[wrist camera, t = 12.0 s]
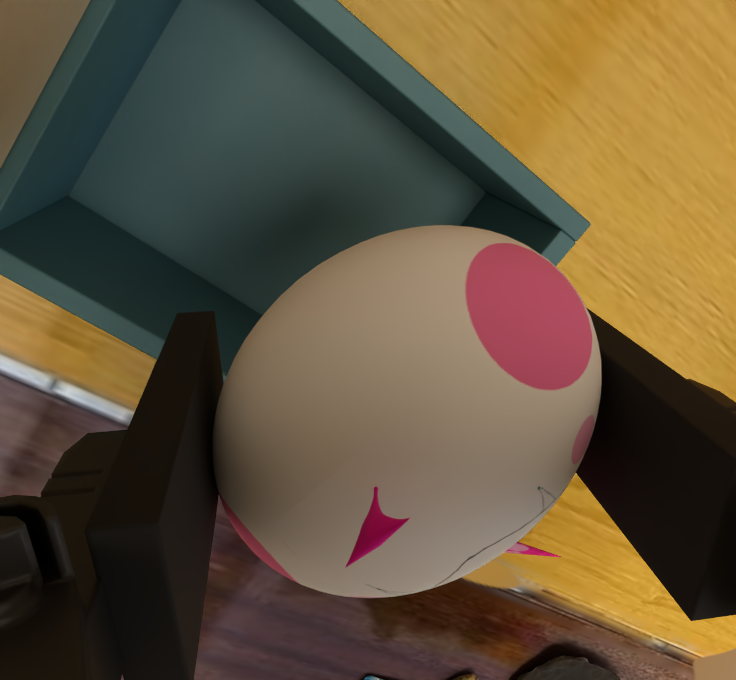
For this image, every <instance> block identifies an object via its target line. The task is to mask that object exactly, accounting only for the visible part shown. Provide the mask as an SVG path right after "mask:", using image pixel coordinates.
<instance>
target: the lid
mask: <svg viewBox="0 0 736 680" xmlns="http://www.w3.org/2000/svg"><path fill="white" fill-rule="evenodd" d="M89 2H90V0H0V168H1V166H2V164H3V162H4V161H5V159H6V157H7V155H8V153H9V151H10V149H11V147H12V146H13V144H14V142H15V140H16V138H17V136H18V134H19V133H20V131H21V129H22V127H23V125H24V123H25V121H26V120H27V118H28V116H29V114H30V112H31V110H32V108H33V107H34V105H35V103H36V101H37V99H38V97H39V95H40V93H41V92H42V90H43V88H44V86H45V84H46V82H47V80H48V79H49V77H50V75H51V73H52V71H53V69H54V67H55V66H56V64H57V62H58V60H59V58H60V56H61V54H62V52H63V51H64V49H65V47H66V45H67V43H68V41H69V39H70V38H71V36H72V34H73V32H74V30H75V28H76V26H77V25H78V23H79V21H80V19H81V17H82V15H83V13H84V12H85V10H86V8H87V6H88V4H89Z"/></svg>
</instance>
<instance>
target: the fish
mask: <svg viewBox="0 0 736 680" xmlns="http://www.w3.org/2000/svg"><path fill="white" fill-rule="evenodd" d="M453 680H478V676H475V674H472V673H470V674H468V675H463V676H459V677H456V678H455V679H453Z"/></svg>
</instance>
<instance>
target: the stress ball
mask: <svg viewBox="0 0 736 680" xmlns="http://www.w3.org/2000/svg"><path fill="white" fill-rule="evenodd" d="M601 386H602V374H601V356H600V350H599V343H598V339H597V335H596V332H595V329H594V326H593V322H592V319H591V316H590V314H589V312H588V310H587V308H586V306H585V304H584V302H583V300H582V298H581V297H580V295H579V294H578V292H577V291H576V290H575V288H574V287H573V286H572V284H571V283H570V282H569V280H568V279H567V278H566V276H565V275H564V274H563V273H562V272H561V271H560V270H559V269H558V268H557V267H556V266H555V265H554V264H552V263H551V262H550V261H549V260H548V259H547V258H545V257H544V256H542V255H541V254H539V253H538V252H536V251H535V250H533V249H532V248H530V247H528V246H527V245H525V244H523V243H521V242H519V241H516V240H514V239H512V238H510V237H508V236H505V235H502V234H499V233H495V232H492V231H489V230H484V229H479V228H473V227H465V226H453V225H433V226H421V227H413V228H408V229H403V230H398V231H394V232H390V233H387V234H383V235H379V236H377V237H374V238H371V239H369V240H366V241H363V242H361V243H358V244H356V245H354V246H352V247H350V248H348V249H346V250H344V251H342V252H339V253H338V254H336V255H334V256H333V257H331V258H329V259H328V260H326V261H324V262H322V263H321V264H319V265H318V266H316V267H315V268H313V269H312V270H311V271H309V272H308V273H307V274H305V275H304V276H303V277H301V278H300V279H298V280H297V281H296V282H295V283H294V284H293V285H292V286H291V287H290V288H288V289H287V290H286V291H285V292H284V293H283V294H282V295H281V296H280V297H279V298H278V299H277V300H276V301H275V302H274V303H273V304H272V306H271V307H270V308H269V309H268V310H267V311H266V312H265V313H264V315H263V316H262V317H261V318H260V320H259V321H258V322H257V324H256V325H255V326H254V328H253V329H252V331H251V332H250V333H249V335H248V336H247V338H246V339H245V340H244V342H243V344H242V346H241V348H240V349H239V351H238V353H237V355H236V356H235V358H234V360H233V363H232V365H231V367H230V370H229V372H228V374H227V377H226V379H225V382H224V384H223V387H222V390H221V393H220V397H219V400H218V404H217V409H216V414H215V420H214V427H213V438H212V455H213V468H214V475H215V480H216V484H217V489H218V492H219V495H220V498H221V501H222V504H223V506H224V509H225V511H226V513H227V515H228V517H229V519H230V521H231V523H232V525H233V526H234V528H235V529H236V531H237V533H238V534H239V536H240V537H241V538H242V540H243V541H244V542H245V543H246V544H247V545H248V546H249V548H250V549H251V550H252V551H253V552H254V553H255V554H256V555H257V556H258V557H259V558H260V559H261V560H263V561H264V562H265V563H266V564H267V565H268V566H270V567H271V568H273V569H274V570H276V571H277V572H279V573H280V574H282V575H283V576H285V577H287V578H289V579H291V580H293V581H295V582H297V583H299V584H301V585H303V586H306V587H309V588H312V589H315V590H318V591H321V592H325V593H329V594H333V595H340V596H346V597H357V598H382V597H394V596H401V595H407V594H412V593H417V592H421V591H424V590H428V589H432V588H435V587H438V586H440V585H443V584H446V583H449V582H451V581H454V580H456V579H458V578H461V577H463V576H465V575H467V574H469V573H471V572H473V571H474V570H477V569H478V568H480V567H482V566H484V565H485V564H487V563H488V562H490V561H492V560H493V559H495V558H496V557H498V556H500V555H501V554H503V553H504V552H506V553H518V554H530V555H542V556H554V557H560V556H557V555H554V554H552V553H549V552H546V551H543V550H540V549H537V548H534V547H531V546H528V545H525V544H522V543H519V542H518V541H519V540H520V539H521V538H523V537H524V536H525V535H526V534H527V533H528V532H529V531H530V530H531V529H532V528H533V527H534V526H535V525H536V524H537V523H538V522H539V521H540V520H541V519H542V518H543V517H544V516H545V514H546V513H547V512H548V511H549V510H550V509H551V508H552V507H553V505H554V504H555V503H556V501H557V500H558V499H559V497H560V496H561V494H562V493H563V492H564V490H565V489H566V487H567V486H568V484H569V482H570V481H571V479H572V478H573V476H574V474H575V473H576V471H577V469H578V467H579V465H580V463H581V461H582V459H583V457H584V454H585V452H586V450H587V447H588V445H589V442H590V439H591V436H592V433H593V430H594V427H595V423H596V419H597V415H598V409H599V403H600V398H601Z"/></svg>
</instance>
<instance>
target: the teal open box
mask: <svg viewBox="0 0 736 680" xmlns="http://www.w3.org/2000/svg"><path fill="white" fill-rule="evenodd" d="M433 225H453V226H465V227H473V228H479V229H484V230H489V231H492V232H495V233H499V234H502V235H505V236H508V237H510V238H512V239H514V240H516V241H519V242H521V243H523V244H525V245H527V246H528V247H530V248H532V249H533V250H535V251H536V252H538V253H539V254H541V255H542V256H544V257H545V258H547V259H548V260H549V261H550V262H551V263H552V264H554V265H555V266H557V264H558V263H559V262H560V261H561V260H562V258H563V257H564V256H565V255H566V254H567V253H568V251H569V250H570V249H571V248H572V247H573V245H574V244H575V241H577V240H578V239H579V238H580V237H581V236H582V235H583V233H584V232H585V231H586V230H587V229H588V227H589V226H590V222H589V221H587V220H586V219H585V218H584V217H583V216H582V215H581V214H579V213H578V212H577V211H576V210H575V209H574V208H573V207H571V206H570V205H569V204H568V203H567V202H566V201H565V200H564V199H562V198H561V197H560V196H559V195H558V194H557V193H556V192H554V191H553V190H552V189H551V188H550V187H549V186H548V185H546V184H545V183H544V182H543V181H542V180H541V179H540V178H539V177H537V176H536V175H535V174H534V173H533V172H532V171H531V170H529V169H528V168H527V167H526V166H525V165H524V164H523V163H521V162H520V161H519V160H518V159H517V158H516V157H515V156H513V155H512V154H511V153H510V152H509V151H508V150H507V149H506V148H504V147H503V146H502V145H501V144H500V143H499V142H498V141H496V140H495V139H494V138H493V137H492V136H491V135H490V134H488V133H487V132H486V131H485V130H484V129H483V128H482V127H481V126H479V125H478V124H477V123H476V122H475V121H474V120H473V119H471V118H470V117H469V116H468V115H467V114H466V113H465V112H463V111H462V110H461V109H460V108H459V107H458V106H457V105H455V104H454V103H453V102H452V101H451V100H450V99H449V98H448V97H446V96H445V95H444V94H443V93H442V92H441V91H440V90H438V89H437V88H436V87H435V86H434V85H433V84H432V83H430V82H429V81H428V80H427V79H426V78H425V77H424V76H422V75H421V74H420V73H419V72H418V71H417V70H416V69H415V68H413V67H412V66H411V65H410V64H409V63H408V62H407V61H405V60H404V59H403V58H402V57H401V56H400V55H399V54H397V53H396V52H395V51H394V50H393V49H392V48H391V47H390V46H388V45H387V44H386V43H385V42H384V41H383V40H382V39H380V38H379V37H378V36H377V35H376V34H375V33H374V32H372V31H371V30H370V29H369V28H368V27H367V26H366V25H364V24H363V23H362V22H361V21H360V20H359V19H358V18H357V17H355V16H354V15H353V14H352V13H351V12H350V11H349V10H347V9H346V8H345V7H344V6H343V5H342V4H341V3H339V2H338V1H337V0H90V2H89V4H88V6H87V8H86V10H85V12H84V13H83V15H82V17H81V19H80V21H79V23H78V25H77V26H76V28H75V30H74V32H73V34H72V36H71V38H70V39H69V41H68V43H67V45H66V47H65V49H64V51H63V52H62V54H61V56H60V58H59V60H58V62H57V64H56V66H55V67H54V69H53V71H52V73H51V75H50V77H49V79H48V80H47V82H46V84H45V86H44V88H43V90H42V92H41V93H40V95H39V97H38V99H37V101H36V103H35V105H34V107H33V108H32V110H31V112H30V114H29V116H28V118H27V120H26V121H25V123H24V125H23V127H22V129H21V131H20V133H19V134H18V136H17V138H16V140H15V142H14V144H13V146H12V147H11V149H10V151H9V153H8V155H7V157H6V159H5V161H4V162H3V164H2V166H1V168H0V274H1V275H2V276H4V277H6V278H8V279H10V280H12V281H13V282H15V283H17V284H19V285H21V286H23V287H24V288H26V289H28V290H30V291H32V292H34V293H35V294H37V295H39V296H41V297H43V298H45V299H47V300H48V301H50V302H52V303H54V304H56V305H58V306H59V307H61V308H63V309H65V310H67V311H69V312H70V313H72V314H74V315H76V316H78V317H80V318H82V319H83V320H85V321H87V322H89V323H91V324H93V325H94V326H96V327H98V328H100V329H102V330H104V331H105V332H107V333H109V334H111V335H113V336H115V337H116V338H118V339H120V340H122V341H124V342H126V343H128V344H129V345H131V346H133V347H135V348H137V349H139V350H140V351H142V352H144V353H146V354H148V355H150V356H151V357H153V358H155V359H158V357H159V354H160V352H161V350H162V347H163V345H164V343H165V340H166V338H167V336H168V333H169V331H170V329H171V326H172V324H173V322H174V319H175V317H176V315H177V313H185V312H201V311H214V312H215V320H216V328H217V336H218V343H219V351H220V359H221V367H222V375H223V382H225V379H226V377H227V374H228V372H229V370H230V367H231V365H232V363H233V360H234V358H235V356H236V355H237V353H238V351H239V349H240V348H241V346H242V344H243V342H244V340H245V339H246V338H247V336H248V335H249V333H250V332H251V331H252V329H253V328H254V326H255V325H256V324H257V322H258V321H259V320H260V318H261V317H262V316H263V315H264V313H265V312H266V311H267V310H268V309H269V308H270V307H271V306H272V304H273V303H274V302H275V301H276V300H277V299H278V298H279V297H280V296H281V295H282V294H283V293H284V292H285V291H286V290H287V289H288V288H290V287H291V286H292V285H293V284H294V283H295V282H296V281H297V280H298V279H300V278H301V277H303V276H304V275H305V274H307V273H308V272H309V271H311V270H312V269H313V268H315V267H316V266H318V265H319V264H321V263H322V262H324V261H326V260H328V259H329V258H331V257H333V256H334V255H336V254H338V253H339V252H342V251H344V250H346V249H348V248H350V247H352V246H354V245H356V244H358V243H361V242H363V241H366V240H369V239H371V238H374V237H377V236H379V235H383V234H387V233H390V232H394V231H398V230H403V229H408V228H413V227H421V226H433Z"/></svg>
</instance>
